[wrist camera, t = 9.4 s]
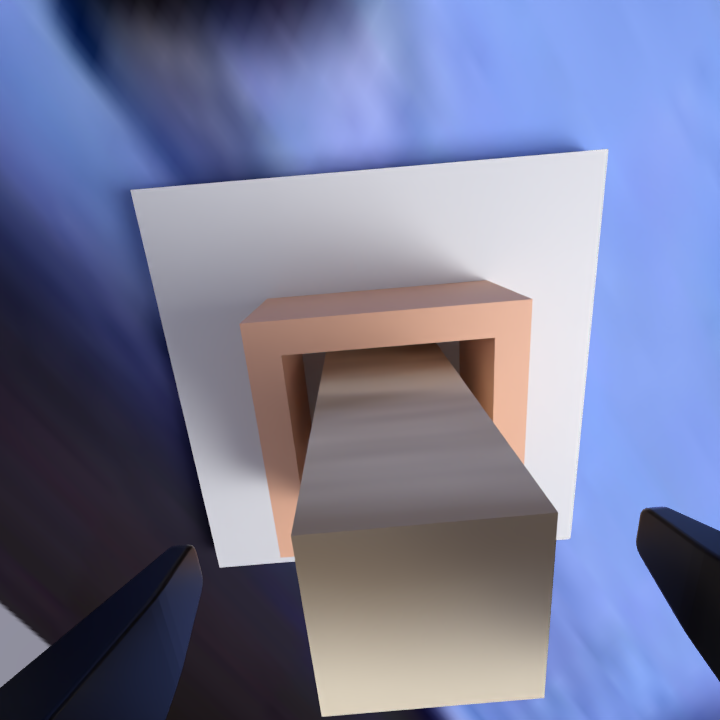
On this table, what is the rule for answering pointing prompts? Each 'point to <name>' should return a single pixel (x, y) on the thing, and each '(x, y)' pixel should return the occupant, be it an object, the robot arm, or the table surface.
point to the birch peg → (418, 541)
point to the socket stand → (372, 312)
